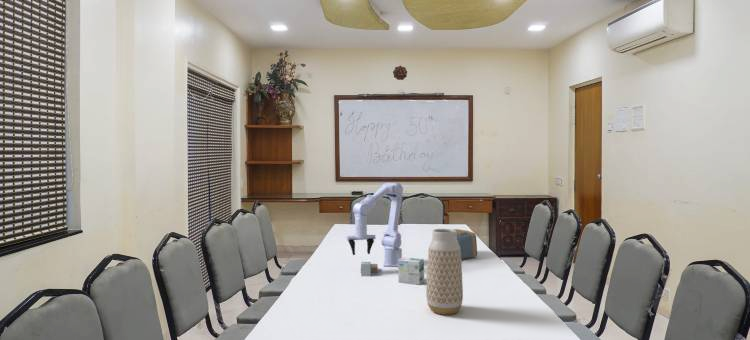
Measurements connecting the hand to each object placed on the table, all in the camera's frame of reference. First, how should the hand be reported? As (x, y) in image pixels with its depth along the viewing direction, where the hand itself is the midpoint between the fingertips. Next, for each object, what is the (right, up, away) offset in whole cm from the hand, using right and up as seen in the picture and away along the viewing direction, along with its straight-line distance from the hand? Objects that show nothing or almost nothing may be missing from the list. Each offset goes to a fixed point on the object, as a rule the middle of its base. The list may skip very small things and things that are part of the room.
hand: (361, 254), depth 229 cm
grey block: (+2, -10, -3) cm, 11 cm away
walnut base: (+4, -10, +5) cm, 12 cm away
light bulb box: (+24, -10, -16) cm, 30 cm away
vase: (+33, -12, -54) cm, 65 cm away
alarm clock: (+55, -8, +35) cm, 65 cm away
